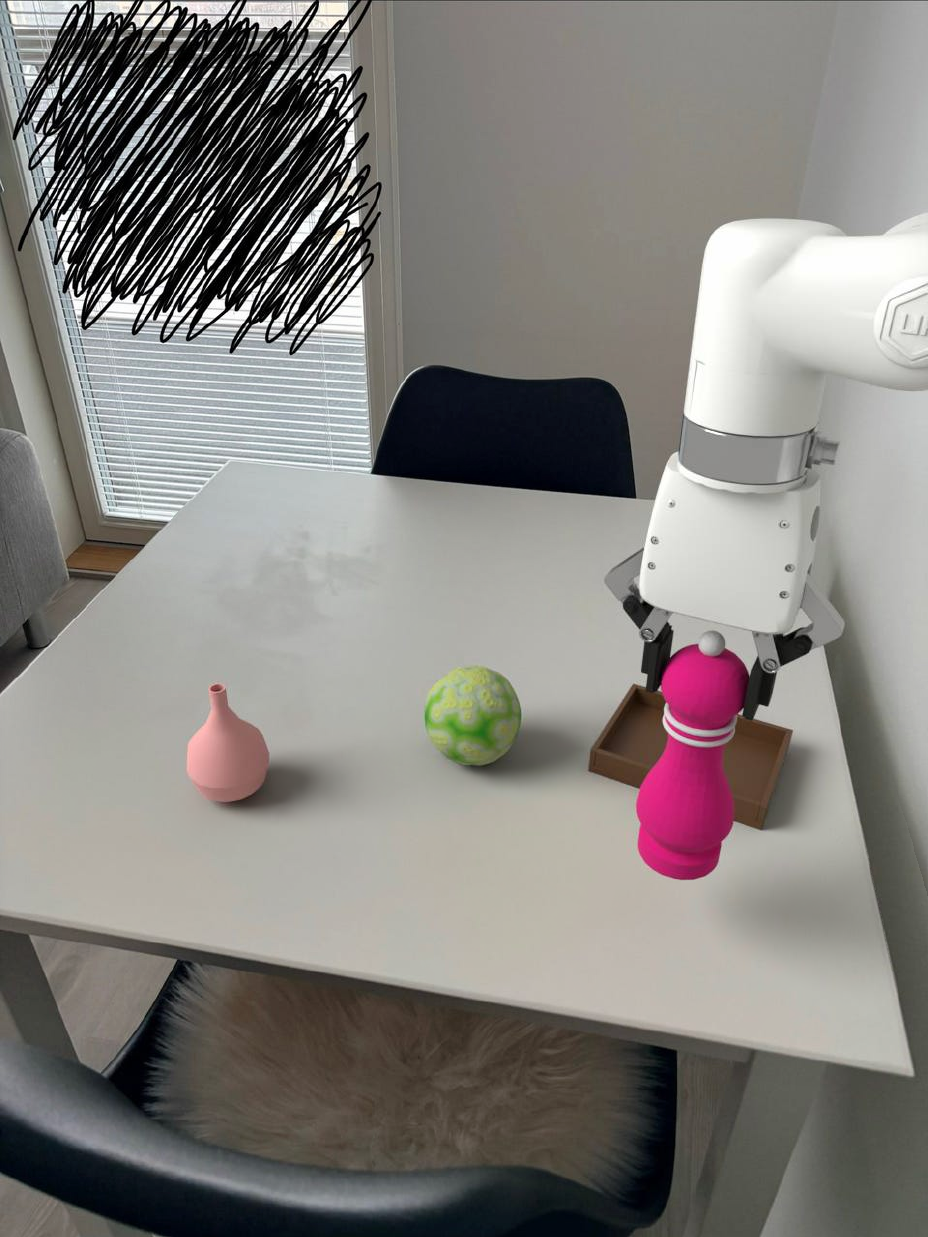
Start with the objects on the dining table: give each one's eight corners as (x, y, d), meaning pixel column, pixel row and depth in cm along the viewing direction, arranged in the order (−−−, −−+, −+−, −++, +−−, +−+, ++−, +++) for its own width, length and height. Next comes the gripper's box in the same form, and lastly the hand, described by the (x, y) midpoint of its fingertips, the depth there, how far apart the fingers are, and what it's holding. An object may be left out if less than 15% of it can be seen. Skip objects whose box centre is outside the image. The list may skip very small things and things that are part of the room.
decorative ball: (405, 747, 91) (403, 667, 86) (481, 714, 96) (483, 637, 91) (461, 800, 84) (463, 717, 79) (540, 761, 89) (546, 681, 84)
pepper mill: (725, 827, 71) (767, 612, 61) (725, 894, 65) (772, 668, 55) (634, 812, 72) (661, 600, 62) (627, 876, 66) (655, 653, 56)
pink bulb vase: (195, 767, 88) (177, 668, 82) (272, 759, 89) (261, 661, 83) (188, 821, 81) (168, 717, 75) (271, 812, 83) (259, 709, 76)
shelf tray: (787, 751, 92) (793, 730, 90) (761, 830, 81) (766, 807, 80) (630, 703, 98) (633, 683, 97) (587, 771, 88) (590, 749, 87)
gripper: (907, 451, 51) (841, 702, 60) (625, 411, 58) (604, 640, 68) (895, 494, 46) (824, 764, 55) (584, 443, 53) (567, 690, 62)
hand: (703, 693), depth 61 cm, fingers closed on pepper mill, 6 cm apart
